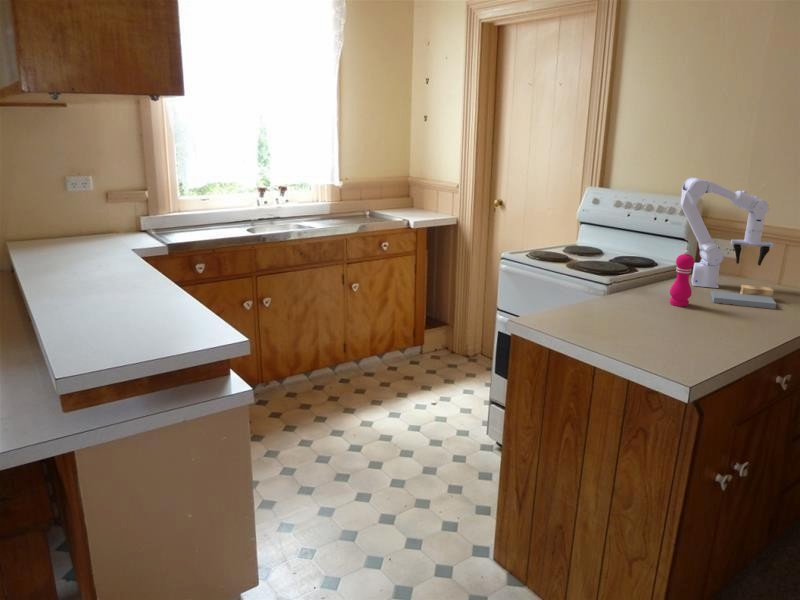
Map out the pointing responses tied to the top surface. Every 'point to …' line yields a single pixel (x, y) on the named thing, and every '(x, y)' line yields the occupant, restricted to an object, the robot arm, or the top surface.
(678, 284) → the pepper mill
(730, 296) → the slate board
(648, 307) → the top surface
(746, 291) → the oak bar
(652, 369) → the top surface
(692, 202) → the robot arm
